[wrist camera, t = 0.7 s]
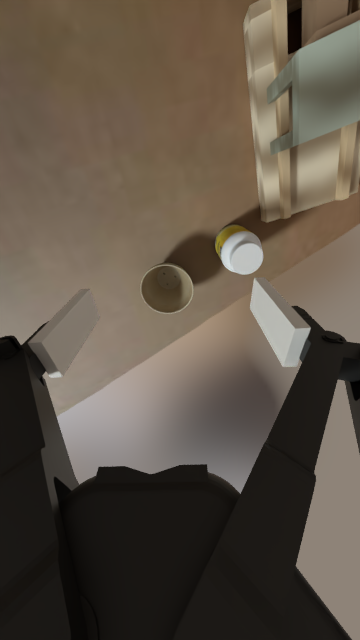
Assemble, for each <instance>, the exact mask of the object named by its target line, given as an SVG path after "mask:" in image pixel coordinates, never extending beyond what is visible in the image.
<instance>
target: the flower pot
mask: <svg viewBox="0 0 360 640" xmlns="http://www.w3.org/2000/svg"><path fill="white" fill-rule="evenodd" d="M164 274H165V275H164ZM175 275H176V276H175ZM140 291H141V296H142V298H143V300H144V302H145V303H146V304H147V305H148V306H149V307H150V308H151V309H153V310H154V311H157V312H159V313H164V314H172V313H177V312H179V311H181V310H183V309H184V308H185V307H187V306H188V304H189V303H190V302H191V300H192V297H193V293H194V287H193V283H192V280H191V278H190V276H189V275H188V273H187V272H186V271H185V270H184V269H183V268H182V267H180V266H178V265H176V264H173V263H161V264H158V265H156V266H154V267H152V268H151V269H150V270H148V271H147V272H146V274H145V275H144V276H143V278H142V281H141V285H140Z"/></svg>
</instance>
